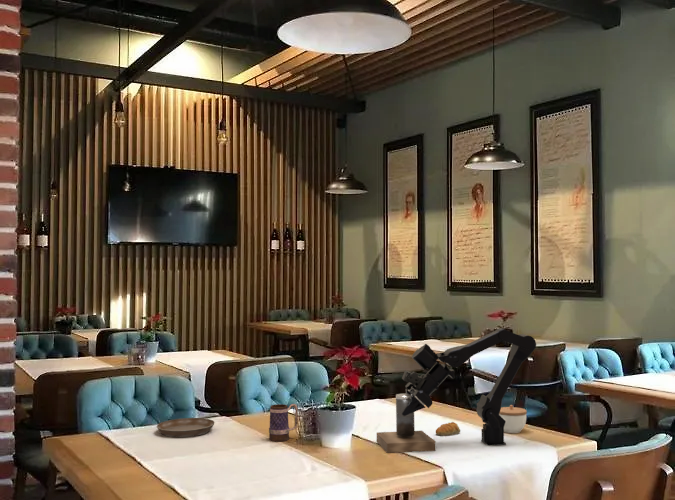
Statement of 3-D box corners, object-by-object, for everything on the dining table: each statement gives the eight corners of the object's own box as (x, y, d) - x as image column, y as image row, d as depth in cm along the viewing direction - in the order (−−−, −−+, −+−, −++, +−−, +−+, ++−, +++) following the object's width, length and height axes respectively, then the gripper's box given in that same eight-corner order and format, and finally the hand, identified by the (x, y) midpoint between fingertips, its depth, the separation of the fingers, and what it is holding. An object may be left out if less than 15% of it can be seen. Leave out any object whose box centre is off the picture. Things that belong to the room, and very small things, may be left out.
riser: (422, 439, 255) (421, 430, 255) (435, 450, 239) (435, 441, 239) (376, 441, 252) (376, 432, 252) (387, 453, 237) (387, 443, 237)
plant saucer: (156, 440, 256) (156, 431, 256) (156, 428, 276) (156, 419, 276) (216, 437, 261) (216, 427, 261) (212, 425, 281) (212, 416, 281)
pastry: (445, 438, 258) (445, 427, 258) (430, 435, 262) (430, 424, 262) (461, 433, 264) (461, 423, 264) (446, 431, 269) (446, 420, 269)
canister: (416, 432, 248) (415, 394, 248) (412, 436, 242) (411, 397, 242) (399, 431, 250) (398, 393, 250) (394, 435, 244) (393, 396, 244)
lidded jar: (530, 430, 268) (530, 404, 268) (521, 436, 259) (520, 409, 259) (502, 426, 274) (502, 401, 274) (491, 432, 265) (491, 406, 265)
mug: (270, 442, 252) (270, 407, 252) (267, 437, 259) (267, 403, 259) (300, 440, 254) (299, 405, 254) (296, 436, 261) (296, 401, 261)
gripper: (410, 358, 256) (379, 391, 255) (421, 365, 237) (388, 401, 236) (433, 380, 257) (402, 413, 255) (446, 389, 238) (413, 425, 237)
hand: (401, 413), depth 246 cm, fingers closed on canister, 6 cm apart
